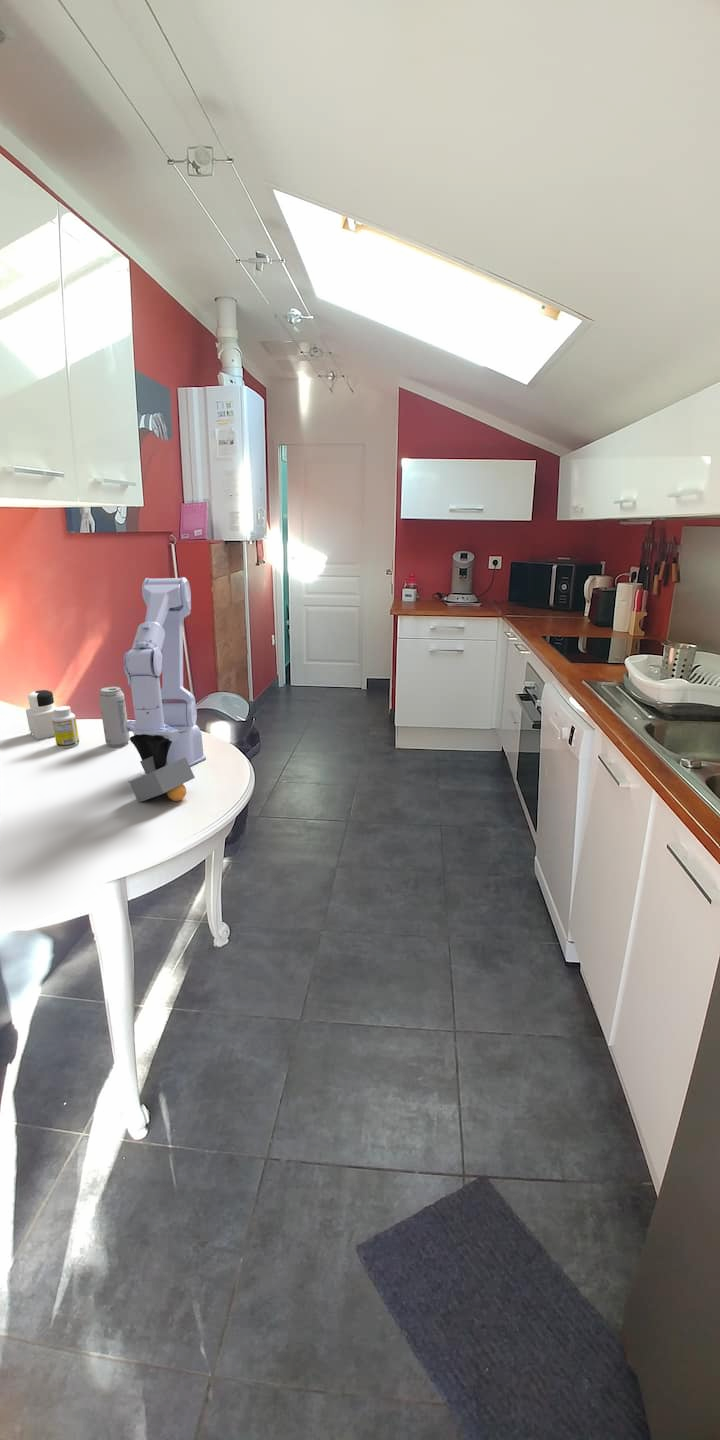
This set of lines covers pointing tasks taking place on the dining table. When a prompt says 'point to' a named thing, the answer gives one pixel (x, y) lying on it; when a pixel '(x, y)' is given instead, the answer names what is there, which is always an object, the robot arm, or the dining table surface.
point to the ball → (177, 793)
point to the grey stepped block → (160, 778)
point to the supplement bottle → (65, 727)
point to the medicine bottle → (41, 714)
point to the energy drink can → (114, 716)
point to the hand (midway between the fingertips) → (155, 767)
